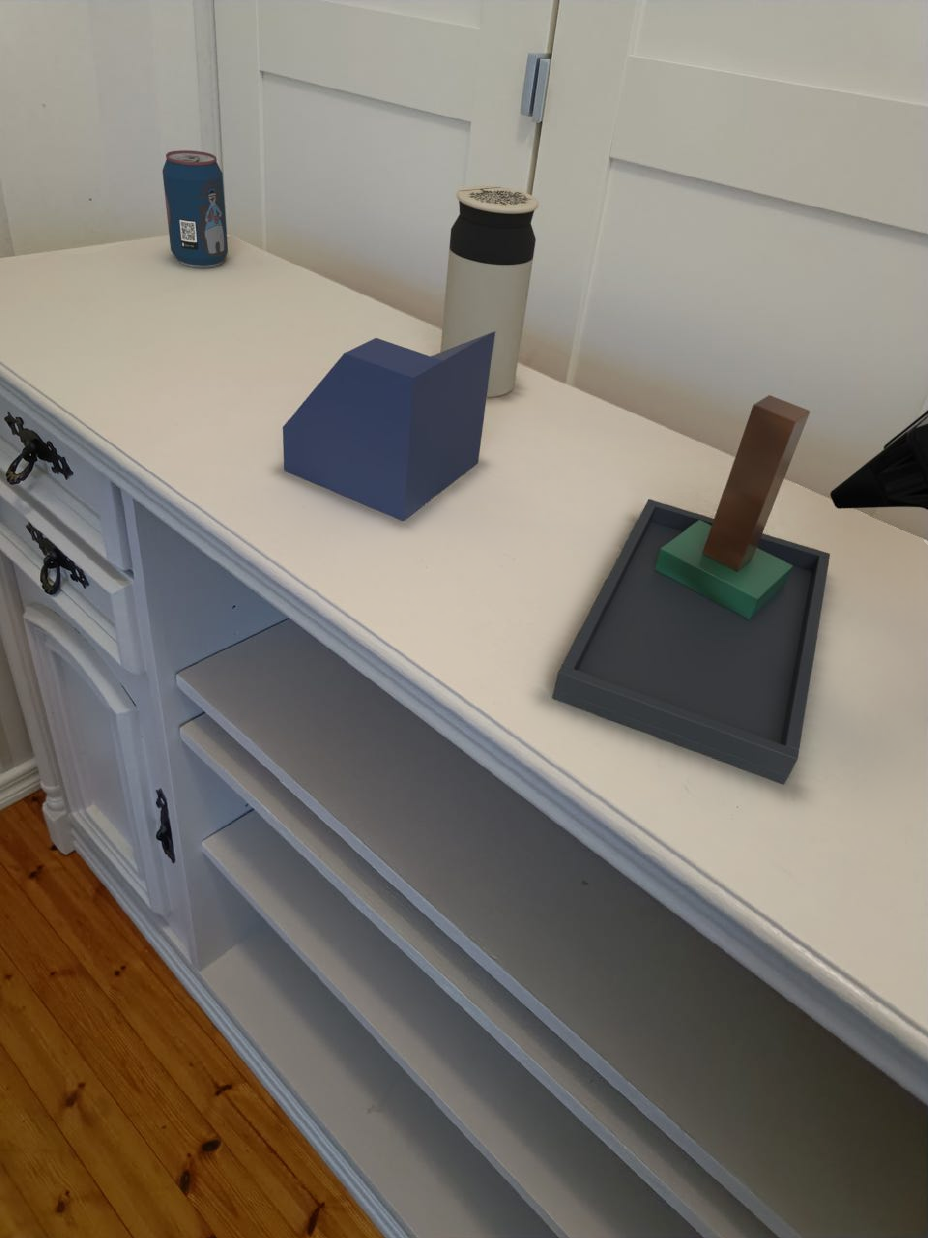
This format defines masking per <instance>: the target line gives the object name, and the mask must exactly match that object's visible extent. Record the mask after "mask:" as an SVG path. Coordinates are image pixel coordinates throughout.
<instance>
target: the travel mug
mask: <svg viewBox="0 0 928 1238" xmlns="http://www.w3.org/2000/svg"><path fill="white" fill-rule="evenodd" d="M456 198H457V200H458V204H459V215H458V216H457V218H456V220H455V221H454V223H453V224H452V225H451V229H450V237H449V249H448V260H447V262H448V263H447V271H446V283H445V293H444V303H443V304H444V305H443V306H444V307H443V315H442V316H443V318H442V327H441V328H442V330H441V341H440V350H439V351H440V352H443V351H446V350H448V349H451V348H453V347H456V346H458V345H461V344H463V343H466V342H469V341H471V340H474V339H476V338H479V337H481V336H484V335H487V334H489V333H492V332H494V331H495V337H494V345H493V353H492V360H491V368H490V376H489V383H488V391H487V398H493V397H494V398H495V397H498V396H502V395H505V394H508V393H509V392H511V391H512V390H513V389H514V387H515V383H516V376H517V369H518V363H519V356H520V350H521V342H522V337H523V336H522V335H523V328H524V322H525V316H526V315H525V314H526V308H527V302H528V295H529V289H530V280H531V276H532V275H531V274H532V268H533V261H534V254H535V248H536V247H535V246H536V241H537V238H536V235H535V232H534V229H533V225H532V221H533V217H534V214H535V211H536V210H537V209H538V207H539V201H538V199H537V198H536V197H535V196H533V195H532V194H529V193H527V192H524V191H521V190H518V189H513V188H509V187H503V186H495V185H469V186H464V187H462V188H460V189H459V190H458V191H457V192H456ZM440 352H439V353H440Z"/></svg>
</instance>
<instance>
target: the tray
mask: <svg viewBox="0 0 928 1238" xmlns="http://www.w3.org/2000/svg"><path fill="white" fill-rule="evenodd" d="M699 520H701V521H703V522H705V523H707V524H709V525H711V526H712V523H713V520H714V518H713V517H710V516H706V515H703V514H700V513H696V512H693V511H691V510H686V509H683V508H681V507H676V506H673V505H670V504H666V503H663V502H661V501H657V500H655V499H650V498H648V499H647V501H646V503H645V505H644V506H643V509H642V510H641V512H640V515H639V516H638V518H637V520H636V522H635V524H634V526H633V528H632V529H631V531H630V533H629V536H628V538H627V539H626V541H625V543H624V545H623V547H622V549H621V551H620V553H619V554H618V556H617V559H616V560H615V563H614V564H613V566H612V568H611V570H610V571H609V574H608V576H607V578H606V580H605V581H604V583H603V585H602V587H601V588H600V591H599V593H598V595H597V597H596V598H595V601H594V602H593V604H592V606H591V608H590V610H589V612H588V614H587V616H586V618H585V619H584V622H583V624H582V626H581V627H580V630H579V631H578V633H577V635H576V637H575V639H574V641H573V643H572V644H571V646H570V648H569V650H568V651H567V654H566V656H565V658H564V660H563V662H562V664H561V666H560V668H559V669H558V671H557V676H556V680H555V683H554V688H553V692H552V696H551V698H552V699H553V700H556V701H558V702H561V703H564V704H566V705H570V706H572V707H574V708H577V709H580V710H583V711H585V712H587V713H591V714H593V715H596V716H599V717H602V718H604V719H606V720H610V721H612V722H615V723H618V724H620V725H623V726H625V727H628V728H631V729H633V730H636V731H639V732H641V733H644V734H647V735H650V736H652V737H654V738H658V739H661V740H663V741H666V742H668V743H671V744H674V745H677V746H679V747H682V748H685V749H688V750H690V751H693V752H695V753H697V754H701V755H703V756H705V757H709V758H712V759H715V760H717V761H719V762H722V763H724V764H727V765H730V766H733V767H736V768H738V769H741V770H744V771H746V772H749V773H751V774H755V775H758V776H760V777H763V778H765V779H768V780H771V781H773V782H776V783H779V784H782V785H784V784H786V782H787V781H788V778H789V776H790V775H791V772H792V771H793V769H794V767H795V766H796V763H797V761H798V760H799V754H800V748H801V747H800V746H801V742H802V741H801V740H802V734H803V728H804V720H805V716H806V709H807V704H808V697H809V690H810V685H811V678H812V671H813V664H814V659H815V652H816V646H817V639H818V633H819V628H820V621H821V616H822V609H823V602H824V596H825V595H824V594H825V589H826V583H827V576H828V570H829V564H830V557H831V553H829V552H826V551H822V550H819V549H816V548H812V547H809V546H805V545H802V544H800V543H796V542H794V541H793V542H792V541H790V540H786V539H784V538H780V537H776V536H772V535H770V534H767V533H764V532H763V533H762V536H761V538H760V541H759V543H758V546H757V548H758V549H760V550H762V551H764V552H766V553H768V554H770V555H772V556H774V557H777V558H779V559H781V560H783V561H785V562H787V563H789V564H791V565H793V567H792V569H791V572H790V574H789V576H788V579H787V581H786V583H785V586H784V587H783V588H782V589H781V590H780V591H779V592H778V593H777V594H776V595H775V596H773V597H772V598H771V599H770V600H769V601H768V602H767V603H766V604H765V605H764V606H763V607H762V608H761V609H760V610H759V611H758V612H757V613H756V614H755V615H754V616H753V617H752V618H751V619H750V620H748V619H746V618H744V617H742V616H741V615H739V614H737V613H735V612H733V611H731V610H729V609H727V608H726V607H724V606H722V605H720V604H718V603H716V602H714V601H712V600H711V599H709V598H707V597H705V596H703V595H701V594H699V593H697V592H696V591H694V590H692V589H690V588H688V587H686V586H684V585H682V584H681V583H679V582H677V581H675V580H673V579H671V578H669V577H667V576H666V575H664V574H662V573H660V572H658V571H656V570H655V565H656V562H657V559H658V556H659V552H660V549H661V548H662V547H663V546H665V545H666V544H667V543H669V542H670V541H671V540H673V539H674V538H675V537H677V536H678V535H680V534H681V533H682V532H684V531H685V530H686V529H688V528H689V527H690V526H692V525H693V524H694V523H696V522H697V521H699Z"/></svg>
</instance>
